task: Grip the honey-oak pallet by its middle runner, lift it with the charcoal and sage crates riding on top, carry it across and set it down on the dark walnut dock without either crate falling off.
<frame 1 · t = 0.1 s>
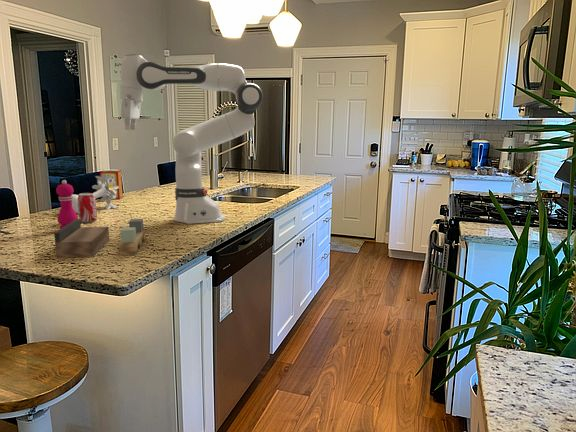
hand: (130, 129, 182), 39 cm above the countertop, tool pointing down, fingers open, 8 cm apart
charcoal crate: (136, 231, 156), point 4 cm above the countertop, touching pallet
soda can: (88, 221, 188), on the countertop
dock: (84, 248, 149), on the countertop
pallet: (133, 246, 151), on the countertop, touching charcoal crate, sage crate
flower vase: (94, 211, 211), on the countertop
sage crate: (128, 240, 144), point 4 cm above the countertop, touching pallet
pepper mill: (69, 230, 173), on the countertop
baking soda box: (112, 198, 243), on the countertop
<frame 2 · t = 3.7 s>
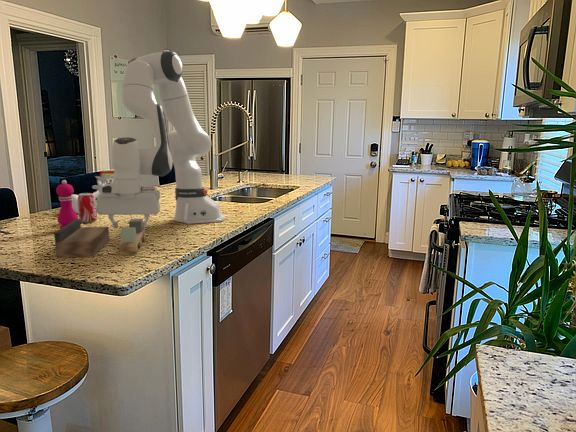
hand: (129, 227, 149), 7 cm above the countertop, tool pointing down, fingers open, 8 cm apart
nothing on the countertop moved.
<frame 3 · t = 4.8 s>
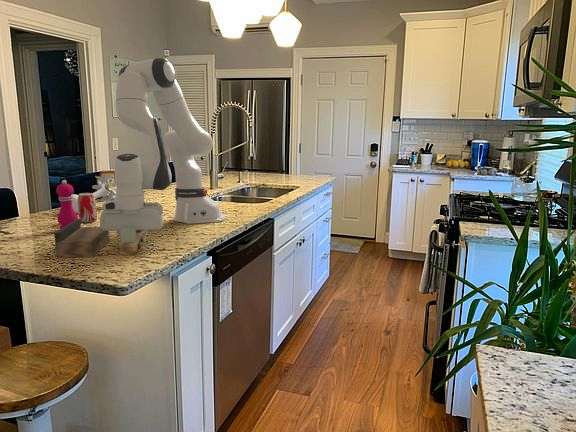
hand: (133, 242, 151), 2 cm above the countertop, tool pointing down, fingers closed on pallet, 5 cm apart
pallet: (133, 246, 151), on the countertop, touching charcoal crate, gripper, sage crate
everything else where it was.
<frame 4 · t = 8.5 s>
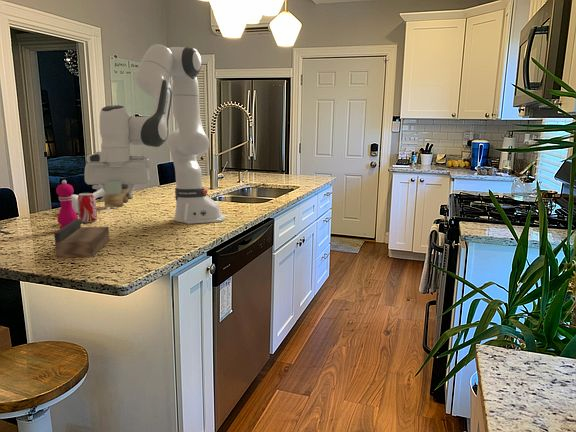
hand: (119, 197, 147), 17 cm above the countertop, tool pointing down, fingers closed on pallet, 5 cm apart
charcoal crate: (123, 187, 152), point 20 cm above the countertop, touching pallet
pallet: (119, 202, 147), point 16 cm above the countertop, touching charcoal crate, gripper, sage crate
sage crate: (114, 193, 140), point 20 cm above the countertop, touching pallet
everything else where it was.
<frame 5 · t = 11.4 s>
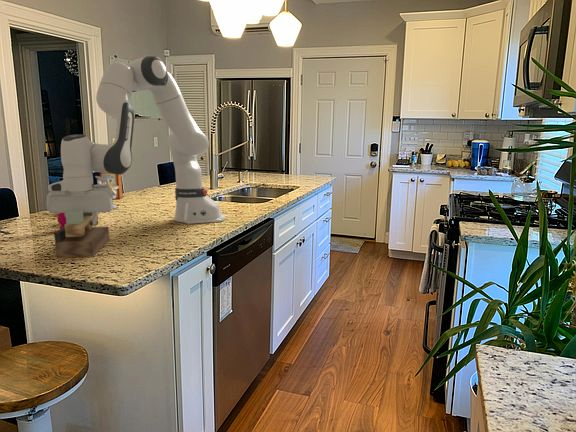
hand: (82, 225, 147), 8 cm above the countertop, tool pointing down, fingers closed on pallet, 5 cm apart
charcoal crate: (87, 214, 153), point 10 cm above the countertop, touching pallet
pallet: (83, 229, 147), point 6 cm above the countertop, touching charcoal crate, gripper, sage crate
sage crate: (75, 222, 140), point 10 cm above the countertop, touching pallet
everything else where it was.
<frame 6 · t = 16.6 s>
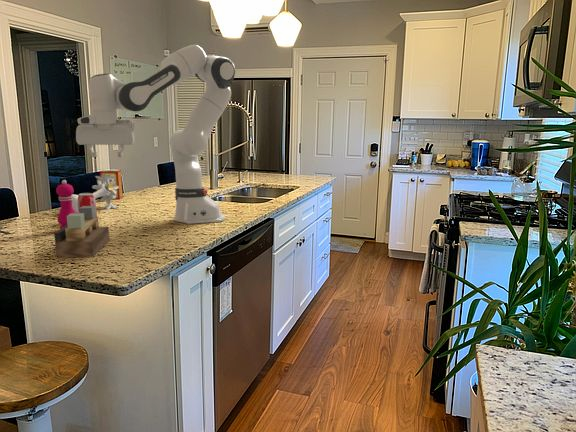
hand: (107, 157, 164), 29 cm above the countertop, tool pointing down, fingers open, 8 cm apart
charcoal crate: (88, 218, 153), point 9 cm above the countertop, touching pallet
pallet: (83, 233, 148), point 5 cm above the countertop, touching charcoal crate, dock, sage crate
sage crate: (76, 226, 141), point 9 cm above the countertop, touching pallet
everything else where it was.
at the end: pallet inside the target area on the dock (0.1 cm from its centre), point 5.0 cm above the dock's base; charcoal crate 0.1 cm from the target spot on the dock, point 9.0 cm above the dock's base; sage crate 0.2 cm from the target spot on the dock, point 9.0 cm above the dock's base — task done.
